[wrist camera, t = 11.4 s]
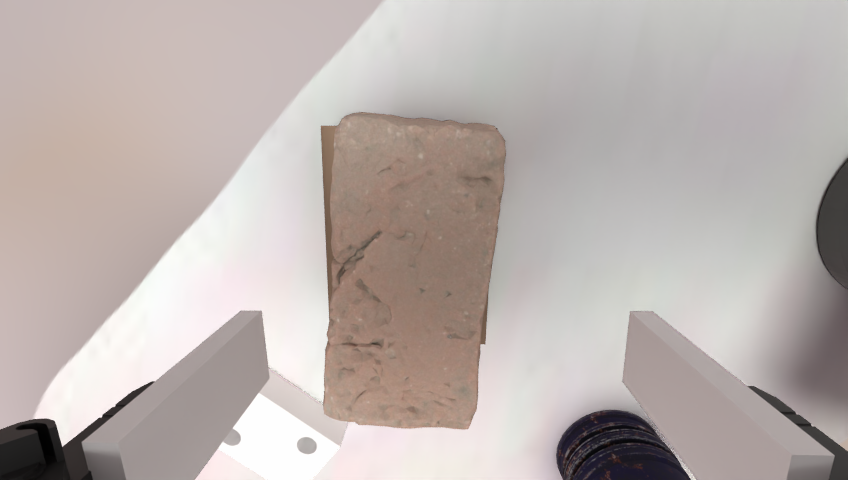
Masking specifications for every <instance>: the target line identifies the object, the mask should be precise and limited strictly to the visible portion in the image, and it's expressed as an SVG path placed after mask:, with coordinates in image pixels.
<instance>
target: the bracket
mask: <svg viewBox="0 0 848 480" xmlns="http://www.w3.org/2000/svg"><path fill="white" fill-rule="evenodd" d="M268 369H269V377H270V378H269V380H268V381H267V383H266V384H265V385H264V387H263V388H262V389H261V391H260V392H259V393H258V395H257V396H256V397H255V399H254V400H253V401H252V403H251V404H250V406H249V407H248V408H247V410H246V411H245V412H244V414H243V415H242V416H241V418H240V419H239V420H238V422H237V423H236V424H235V426H234V427H233V429H232V430H231V431H230V433H229V434H228V435H227V437H226V438H225V439H224V441H223V442H222V443H221V445H220V446H219V448H218V449H219V450H221V451H222V452H224V453H225V454H227V455H229V456H230V457H232V458H233V459H235V460H236V461H238V462H240V463H241V464H243V465H244V466H246V467H247V468H249V469H251V470H252V471H254V472H255V473H257V474H258V475H260V476H262V477H263V478H265V479H266V480H312V479H313V478H314V477H315V476H316V474H317V473H318V472H319V471H320V470H321V469H322V468H323V466H324V465H325V464H326V463H327V462H328V461H329V460H330V458H331V457H332V456H333V455H334V454H335V453H336V451H337V450H338V449H339V448H340V447H341V444H342V440H343V437H344V434H345V431H346V428H347V425H348V422H347V421H339V420H335V419H332V418H330V417H328V416H327V415H325V414H324V407H323V404H321V403H320V402H318V401H317V400H316V399H314V398H313V397H311V396H310V395H308V394H307V393H305V392H304V391H302V390H301V389H299V388H298V387H296V386H295V385H293V384H292V383H290V382H289V381H287V380H286V379H285V378H283V377H282V376H280V375H279V374H277V373H276V372H274V371H273V370H271V369H270V368H268Z"/></svg>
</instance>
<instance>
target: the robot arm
mask: <svg viewBox="0 0 848 480" xmlns="http://www.w3.org/2000/svg"><path fill="white" fill-rule="evenodd" d="M818 243H819V249H820V253H821V256H822V259H823V261H824V263H825V265H826V267H827V269H828V270H829V272H830V273H831V275H832V276H833V277H834V278H835V279H836V280H837V281H838V282H839V283H840V284H841V285H842V286H844V287H845V288H846V289H848V161H847V162H846V163H845V164H844V166H843V167H842V168H841V169H840V171H839V172H838V174H837V175H836V177H835V178H834V180H833V182H832V183H831V185H830V187H829V189H828V191H827V193H826V196H825V198H824V201H823V204H822V207H821V211H820V215H819V221H818ZM269 378H270V377H269V369H268V361H267V352H266V344H265V336H264V327H263V319H262V311H240V312H239V313H238V314H236V315H235V316H234V317H233V318H232V319H230V320H229V321H228V322H227V323H225V324H224V325H223V326H222V327H221V328H219V329H218V330H217V331H216V332H215V333H213V334H212V335H211V336H210V337H209V338H207V339H206V340H205V341H204V342H202V343H201V344H200V345H199V346H198V347H196V348H195V349H194V350H193V351H192V352H190V353H189V354H188V355H187V356H186V357H184V358H183V359H182V360H181V361H179V362H178V363H177V364H176V365H175V366H173V367H172V368H171V369H170V370H169V371H167V372H166V373H165V374H164V375H162V376H161V377H160V378H159V379H158V380H156V381H155V382H154V381H152V382H150V383H148V384H146V385H144V386H142V387H140V388H138V389H136V390H135V391H133V392H131V393H130V394H128V395H127V396H126V397H125V398H123V399H122V400H121V401H120V402H118V403H117V404H116V406H115V407H112V408H111V409H110V410H108V411H107V412H106V413H105V414H103V416H102V418H98V419H97V420H96V421H95V422H93V423H92V424H91V425H89V426H88V427H87V428H86V429H84V430H83V431H82V432H81V433H79V434H78V435H77V436H76V437H74V438H73V439H72V440H71V441H69V442H68V443H67V444H66V445H64V446H63V447H62V445H61V441H60V438H59V434H58V430H57V426H56V424H55V421H53V420H50V419H33V420H29V421H25V422H20V423H17V424H14V425H11V426H9V427H6V428H3V429H1V430H0V480H195V479H196V477H197V476H198V475H199V473H200V472H201V471H202V469H203V468H204V466H205V465H206V464H207V462H208V461H209V460H210V458H211V457H212V456H213V454H214V453H215V452H216V450H217V449H218V448H219V446H220V445H221V443H222V442H223V441H224V439H225V438H226V437H227V435H228V434H229V433H230V431H231V430H232V429H233V427H234V426H235V424H236V423H237V422H238V420H239V419H240V418H241V416H242V415H243V414H244V412H245V411H246V410H247V408H248V407H249V406H250V404H251V403H252V401H253V400H254V399H255V397H256V396H257V395H258V393H259V392H260V391H261V389H262V388H263V387H264V385H265V384H266V383H267V381H268V380H269ZM622 382H623V383H624V384H625V386H626V387H627V388H628V390H629V391H630V392H631V394H632V395H633V396H634V398H635V399H636V400H637V402H638V403H639V404H640V406H641V407H642V408H643V409H644V411H645V412H646V413H647V415H648V416H649V417H650V419H651V420H652V421H653V423H654V424H655V425H656V427H657V428H658V429H659V431H660V432H661V433H662V434H663V436H664V437H665V438H666V440H667V441H668V442H669V444H670V445H671V446H672V448H673V449H674V450H675V452H676V453H677V454H678V455H679V457H680V458H681V459H682V461H683V462H684V463H685V465H686V466H687V467H688V469H689V470H690V471H691V473H692V474H693V475H694V477H695V478H696V479H697V480H848V451H846V450H845V449H844V448H842V447H841V446H840V445H838V444H837V443H836V442H834V441H833V440H832V439H830V438H829V437H828V436H826V435H825V434H824V433H823V432H821V431H820V430H819V429H817V428H816V427H812V426H811V423H809V422H808V421H807V420H805V419H804V418H803V417H801V416H800V415H796V413H795V411H793V410H792V409H791V408H789V407H788V406H787V405H786V404H784V403H783V402H782V401H780V400H779V399H778V398H776V397H774V396H772V395H770V394H768V393H766V392H764V391H762V390H760V389H758V388H756V387H754V386H746V385H745V384H744V383H742V382H741V381H740V380H739V379H737V378H736V377H735V376H734V375H732V374H731V373H730V372H729V371H727V370H726V369H725V368H723V367H722V366H721V365H720V364H718V363H717V362H716V361H715V360H713V359H712V358H711V357H710V356H708V355H707V354H706V353H705V352H703V351H702V350H701V349H699V348H698V347H697V346H696V345H694V344H693V343H692V342H691V341H689V340H688V339H687V338H686V337H684V336H683V335H682V334H681V333H679V332H678V331H677V330H675V329H674V328H673V327H672V326H670V325H669V324H668V323H667V322H665V321H664V320H663V319H662V318H660V317H659V316H658V315H657V314H655V313H654V312H653V311H630V316H629V326H628V335H627V344H626V353H625V362H624V371H623V380H622Z"/></svg>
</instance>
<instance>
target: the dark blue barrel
mask: <svg viewBox="0 0 848 480" xmlns="http://www.w3.org/2000/svg"><path fill="white" fill-rule="evenodd" d="M556 456H557V464H558V468H559V471H560V473H561V476H562V478H563V480H691V479H690V478H689V476H688V475H687V473H686V472H685V471H684V469H683V468H682V467H681V464H680V463H679V461H678V459H677V458H676V456H675V455H674V454H673V453H672V451H671V450H670V449H669V448H668V446H667V445H666V444H665V443H664V442H663V441H662V440H661V439H660V438H659V437H658V435H657V434H656V432H655V431H654V430H653V428H652V427H651V426H650V425H649V424H648V423H647V422H646V421H645V420H643V419H642V418H640V417H638V416H636V415H634V414H631V413H629V412H624V411H619V410H606V411H600V412H595V413H592V414H589V415H587V416H585V417H583V418H581V419H579V420H578V421H576V422H575V423H573V424H572V425H571V426H570V427H569V428H568V429H567V430H566V432H565V433H564V434H563V436H562V438H561V440H560V442H559V445H558V448H557V454H556Z"/></svg>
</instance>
